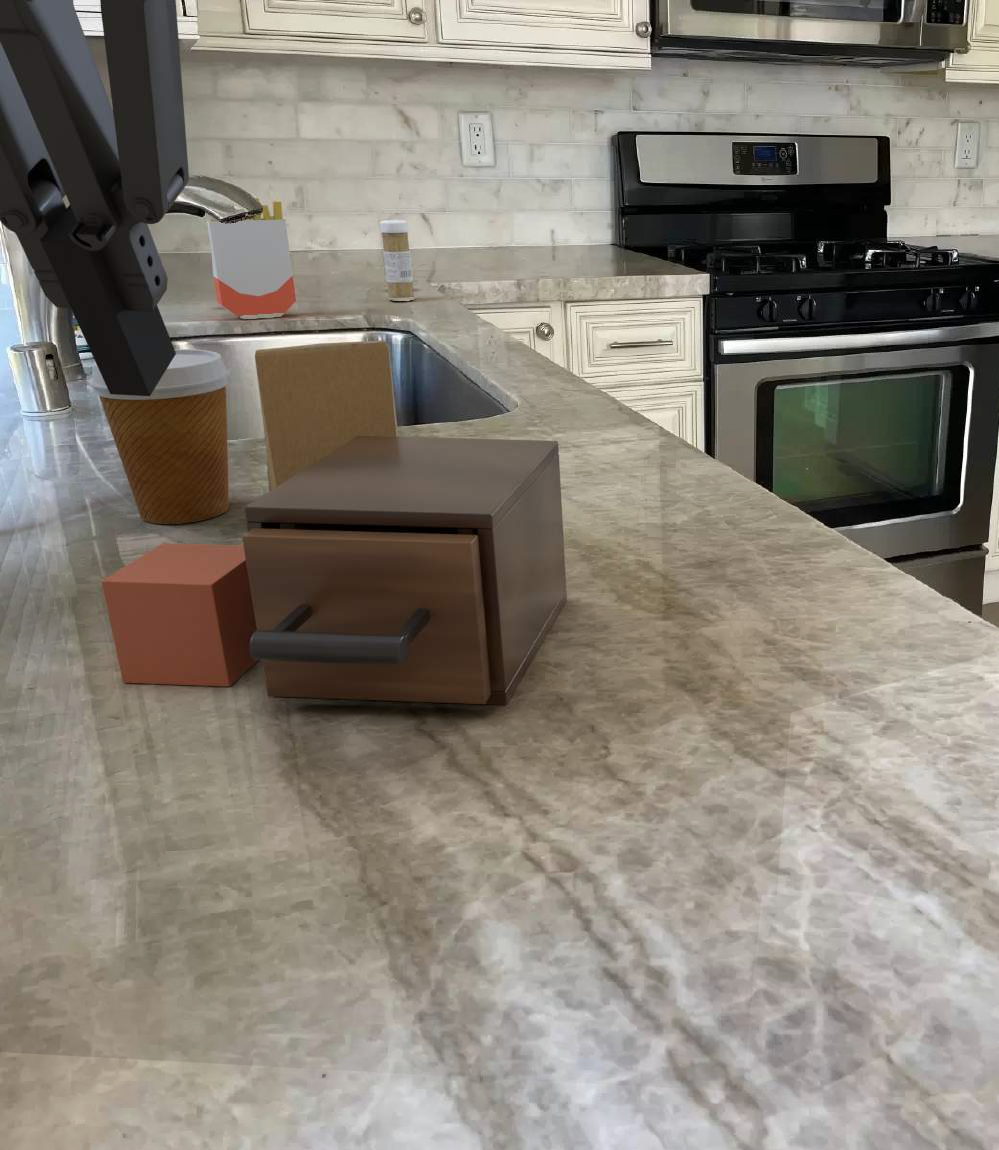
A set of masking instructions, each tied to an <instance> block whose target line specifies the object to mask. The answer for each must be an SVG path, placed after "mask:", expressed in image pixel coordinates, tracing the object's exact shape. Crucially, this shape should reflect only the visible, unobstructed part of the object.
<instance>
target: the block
mask: <svg viewBox="0 0 999 1150" xmlns="http://www.w3.org/2000/svg"><path fill="white" fill-rule="evenodd" d="M101 586H102V592H103V596H104V601H105V606H106V610H107V615H108V620H109V625H110V629H111V633H112V634H111V635H112V638H113V644H114V648H115V652H116V656H117V657H116V658H117V661H118V666H119V671H120V675H121V681H122V683H124V684H145V685H148V684H149V685H173V686H174V685H175V686H199V687H202V686H203V687H226V688H227V687H231V686H232V685H233V684H234V683H236V681H237V680H239V679H240V678H241V677H242V676H243V675H244V674H245V673H246V672H247V671H249V670H250V669H251V668H252V667H253V666H254V665H255V664H256V663H257V662H259V660H255V659H253V658H252V656H251V653H250V641H251V637H252V635H253V634H254V632H256V631H257V626H256V620H255V613H254V607H253V601H252V595H251V589H250V583H249V577H248V570H247V564H246V558H245V552H244V546H243V545H241V544H240V545H238V544H236V545H235V544H231V545H230V544H208V543H207V544H206V543H205V544H204V543H203V544H202V543H201V544H200V543H176V542H175V543H174V542H173V543H172V542H171V543H170V542H169V543H168V542H163V543H161V544H160V545H158V546H156V547H154V548H153V549H151V550H150V551H148V552H146V553H144V554H143V555H141V556H139V557H138V558H136V559H135V560H132V562H130V563H128V564H127V565H125V566H123V567H121V568H120V569H118V570H117V571H115V572H113V573H112V574H110V575H108V576H107V577H106V578H104V579H101Z"/></svg>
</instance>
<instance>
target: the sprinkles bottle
mask: <svg viewBox="0 0 999 1150" xmlns="http://www.w3.org/2000/svg"><path fill="white" fill-rule="evenodd" d="M379 229H380V230H379V231H380V235H381V239H382V247H383V250H382V251H383V261H384V271H385V279H386V284H387V292H388V294H387V295H388V297H390V298H409V297H415V293H414V283H413V281H414V279H413V278H414V277H413V268H412V258H411V250H410V244H409V225H408V221H407V220H404V219H403V220H402V219H387V220H381V221H380V222H379Z"/></svg>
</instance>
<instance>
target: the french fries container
mask: <svg viewBox="0 0 999 1150" xmlns="http://www.w3.org/2000/svg"><path fill="white" fill-rule="evenodd" d="M253 198H254V199H255V200H257V201H258V202H259V203H260V198H258V197H253ZM262 206H263V211H262V216H261V214H260V215H258V216H256V217H254V218H252V217H251V218H250V219H246V220H242V221H239V222H236V223H231V224H225V223H221V222H219V221H220V220H219V221H217V220H214V219H211V218H210V217H209V218H210V221H209V220H206V226H207V229H208V230H207V231H208V232H207V233H208V238H209V245H210V250H211V263H212V276H213V283H214V290H215V295H216V296H215V297H216V302H217V303H218V304H219V305H221V306H222V307H223V308H225V309H227V310H228V311H229V312H231V313H232V314H233V315H235V316H236V317H238V316H243V315H258V314H273V313H284V314H286V312H287V311H288V310H289V309H290V308H291V307H292V306H293V305H294V304H295V303H296V302H297V298H296V291H295V290H296V289H295V282H294V275H293V268H292V261H291V252H290V245H289V238H288V229H287V223H286V219H285V218H283V207H282V201H272V209H273V215H271V213H270V209H269V206H268V205H266V204H265V205H262ZM262 217H263V218H262Z"/></svg>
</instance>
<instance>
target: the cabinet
mask: <svg viewBox="0 0 999 1150" xmlns="http://www.w3.org/2000/svg"><path fill="white" fill-rule="evenodd" d="M559 452H560V451H559V441H558V440H542V439H541V440H538V439H506V438H505V439H503V438H500V439H499V438H468V437H467V438H463V437H462V438H461V437H430V436H429V437H428V436H427V437H425V436H423V437H422V436H398V437H391V436H356V437H355V438H353V439H351V440H350V441H348V442H347V443H345V444H344V445H342V446H340V447H339V448H337V449H336V450H334V451H332V452H331V453H329V454H328V455H326V456H325V457H323V458H321V459H320V460H318V461H317V462H315V463H314V464H312V465H310V466H309V467H307V468H306V469H304V470H303V471H301V472H299V473H298V474H296V475H295V476H293V477H292V478H290V479H288V480H287V481H285V482H284V483H282V484H280V485H279V486H277V487H276V488H274V489H273V490H271V491H268V492H266V493H264V494H263V495H261V496H260V497H259V498H257V499H255V500H254V501H252V502H250V503H249V504H247V505H245V507H244V508H243V509H244V516H245V521H246V523H245V524H246V529H247V532H249V531H250V530H251V529H253V528H259V529H280V523H303V524H336V525H370V526H403V527H436V528H470V529H478V542H479V554H480V566H481V578H482V589H483V601H484V613H485V625H486V637H487V649H488V661H489V673H490V685H491V695H490V697H489V698H488V700H487V701H486V703H485V704H484V705H498V706H499V705H502V706H506V705H508V703H509V701H510V700H511V698H512V696H513V695H514V694H515V691H516V689H517V687H518V686H519V685H520V683H521V680H522V679H523V677H524V675H525V673H526V672H527V670H528V668H529V666H530V665H531V663H532V662H533V660H534V658H535V656H536V654H537V653H538V651H539V649H540V648H541V646H542V644H543V643H544V641H545V639H546V637H547V635H548V634H549V632H550V630H551V628H552V627H553V625H554V623H555V622H556V619H557V618H558V616H559V614H560V612H561V611H562V610H563V608H564V606H565V604H566V602H567V601H568V597H567V596H568V595H567V576H566V558H565V557H566V556H565V540H564V537H565V536H564V524H563V523H564V521H563V503H562V485H561V468H560V467H561V466H560V465H561V464H560V454H559Z"/></svg>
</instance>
